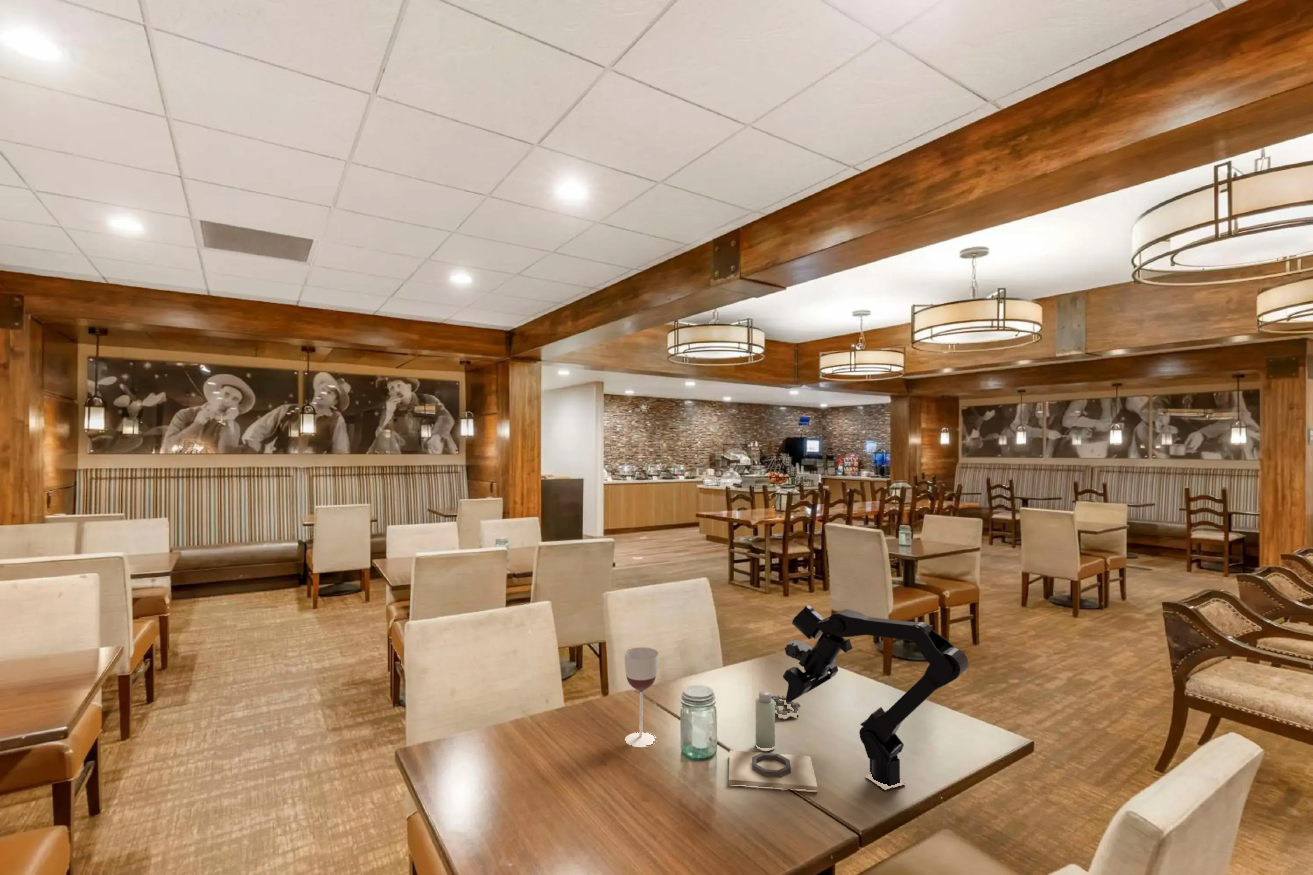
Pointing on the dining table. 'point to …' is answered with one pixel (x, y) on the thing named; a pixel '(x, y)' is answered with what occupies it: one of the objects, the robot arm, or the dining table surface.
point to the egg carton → (781, 703)
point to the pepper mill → (765, 720)
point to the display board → (771, 770)
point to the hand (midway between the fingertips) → (796, 695)
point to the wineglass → (641, 686)
